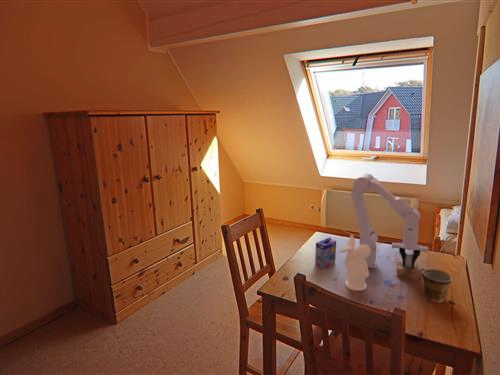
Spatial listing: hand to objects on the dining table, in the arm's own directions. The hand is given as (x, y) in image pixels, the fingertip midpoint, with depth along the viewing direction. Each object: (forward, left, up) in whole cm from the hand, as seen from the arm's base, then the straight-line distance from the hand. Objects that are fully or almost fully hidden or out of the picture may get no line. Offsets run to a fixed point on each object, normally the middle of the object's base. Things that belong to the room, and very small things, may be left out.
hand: (408, 264), depth 144 cm
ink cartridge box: (-36, -4, -5) cm, 37 cm away
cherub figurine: (-22, -20, -5) cm, 30 cm away
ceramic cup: (+8, -16, -5) cm, 19 cm away
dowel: (0, 0, -3) cm, 3 cm away
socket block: (0, 0, -5) cm, 5 cm away
